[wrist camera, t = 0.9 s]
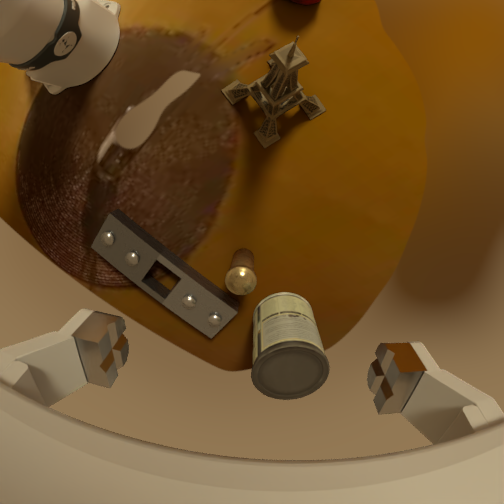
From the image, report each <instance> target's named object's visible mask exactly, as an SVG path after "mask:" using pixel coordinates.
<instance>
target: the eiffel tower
mask: <svg viewBox="0 0 504 504" xmlns="http://www.w3.org/2000/svg"><path fill="white" fill-rule="evenodd" d="M298 37H299V36H297V38H296V40H295V43H294V42H292V43H290V44H288V45H286V46H284V47H282V48H280V49H279V50H277V51H275V52H273V53H271V54H270V55H269V56H270V57H271V58H272V59H271V60H269V61H267V62H268V63H269V64H270V66H271V67H272V68H271V70H270V71H269V73H268V74H266V75H264V76H263V77H261V78H259V79H258V80H256V81H254V82H253V83H251V84H249V85H246V84H242V83H240V82H239V81H238V80H236V81H235V82H233V83H231V84H230V85H228V86H227V87H225V88H224V89H222V92H223V93H224V94H225V96H226V97H227V98H228V99H229V101H230V102H231V103H232V105H233V104H235V103H236V102H238V101H239V100H241V99H242V98H244V97H246V96H249V95H251V96H252V97H253V98H254V100H255V101H256V102H257V103H258V105H259V106H260V107H261V109H262V110H263V112H264V113H265V115H266V116H267V117H266V118H265V120H264V122H263V124H262V126H261V127H260V129H258V130H257V131H256V132H254V135H255V136H256V137H257V139H258V140H259V141H260V143H261V144H262V146H263V147H264V149H265V148H267V147H268V146H270V145H271V144H273V143H274V142H276V141H277V140H279V139H280V138H281V137H280V136H279V134H278V133H277V124H276V118H277V117H279V116H280V115H282V114H283V113H285V112H286V111H288V110H290V109H291V108H293V107H295V106H296V105H298V104H299V105H300V106H301V107H302V108H303V110H304V111H305V113H306V114H307V116H308V117H309V119H310V120H311V119H312V118H314V117H316V116H317V115H319V114H321V113H322V112H324V111H326V109H325V108H324V106H323V105H322V103H321V102H320V101H319V99H318V98H317V96H316V95H314V96H312V97H309V96H305V95H304V93H303V92H302V90H303V88H302V86H301V85H300V84H299V83H298V81H297V79H298V69H300V68H301V67H303V66H305V65H307V64H309V62H308V61H307V58H306V57H305V56H304V54H303V53H302V52H301V51H300V49H299V48H298V47H297V46H296V45H297V44H296V42H297V40H298ZM272 85H274V86H273V89H272V88H271V86H272ZM286 86H287V87H286ZM282 102H283V103H282ZM280 103H281V104H280Z"/></svg>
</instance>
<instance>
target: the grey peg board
mask: <svg viewBox="0 0 504 504" xmlns="http://www.w3.org/2000/svg"><path fill="white" fill-rule="evenodd" d="M91 248H93V249H94V250H95V251H96V252H97V253H98V254H100V255H101V256H102V257H103V258H104V259H106V260H107V261H108V262H109V263H110V264H112V265H113V266H114V267H115V268H116V269H118V270H119V271H120V272H121V273H123V274H124V275H125V276H126V277H128V278H129V279H130V280H131V281H133V282H134V283H135V284H137V285H138V286H139V287H140V288H142V289H143V290H144V291H146V292H147V293H148V294H149V295H151V296H152V297H153V298H155V299H156V300H157V301H159V302H160V303H161V304H163V305H164V306H166V307H167V308H168V309H170V310H171V311H172V312H174V313H175V314H177V315H178V316H179V317H181V318H182V319H184V320H185V321H186V322H188V323H189V324H191V325H192V326H194V327H195V328H196V329H198V330H199V331H201V332H202V333H204V334H205V335H207V336H208V337H210V338H211V339H212V338H213V337H214V336H215V335H216V334H217V333H218V332H219V331H220V330H221V329H222V328H223V327H224V326H225V325H226V324H227V323H228V322H229V321H230V320H231V319H232V318H233V317H234V316H235V315H236V314H237V313H238V307H239V302H237V301H236V300H235V299H233V298H232V297H231V296H229V295H228V294H226V293H225V292H224V291H222V290H221V289H220V288H218V287H217V286H216V285H214V284H213V283H212V282H210V281H209V280H208V279H206V278H205V277H204V276H202V275H201V274H200V273H198V272H197V271H196V270H194V269H193V268H192V267H191V266H189V265H188V264H187V263H185V262H184V261H183V260H181V259H180V258H179V257H178V256H176V255H175V254H174V253H172V252H171V251H170V250H169V249H167V248H166V247H165V246H164V245H162V244H161V243H160V242H159V241H157V240H156V239H155V238H154V237H152V236H151V235H150V234H149V233H147V232H146V231H145V230H144V229H142V228H141V227H140V226H139V225H137V224H136V223H135V222H134V221H133V220H131V219H130V218H129V217H128V216H126V215H125V214H124V213H123V212H122V211H120V210H119V209H117V210H115V211H113V212H111V213H110V214H109V215H108V217H107V219H106V221H105V222H104V224H103V226H102V228H101V229H100V231H99V233H98V235H97V237H96V238H95V240H94V242H93V244H92V246H91ZM156 260H158V261H159V262H160V263H162V264H163V265H164V266H165V267H167V268H168V269H169V270H171V271H172V272H173V273H175V274H176V275H177V276H179V277H180V279H179V280H178V281H177V283H176V284H175V285H174V286H173V288H172V289H171V290H169V289H167V288H166V287H165V286H163V285H162V284H161V283H159V282H158V281H157V280H156V279H154V278H153V277H152V276H150V275H149V274H148V271H149V270H150V269H151V267H152V266H153V264H154V263H155V262H156Z"/></svg>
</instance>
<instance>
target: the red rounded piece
mask: <svg viewBox="0 0 504 504" xmlns="http://www.w3.org/2000/svg"><path fill="white" fill-rule="evenodd" d="M290 1H292V2H294V3H297V4H302V5H311V4H315V3H318V2H319V1H321V0H290Z"/></svg>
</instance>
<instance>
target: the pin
mask: <svg viewBox="0 0 504 504" xmlns="http://www.w3.org/2000/svg"><path fill="white" fill-rule="evenodd" d="M225 283H226V286H227V288H228V289H229V291H231V292H232V293H234V294H236V295H246V294H249V293H250V292H252V291H253V290H254V288H255V286H256V274H255V272H254V256H253V253H252V252H251V251H250V250H248V249H239V250H237V251H236V252H235V253H234V255H233V260H232V265H231V268H230V269H229V270H228V272H227V274H226V278H225Z"/></svg>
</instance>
